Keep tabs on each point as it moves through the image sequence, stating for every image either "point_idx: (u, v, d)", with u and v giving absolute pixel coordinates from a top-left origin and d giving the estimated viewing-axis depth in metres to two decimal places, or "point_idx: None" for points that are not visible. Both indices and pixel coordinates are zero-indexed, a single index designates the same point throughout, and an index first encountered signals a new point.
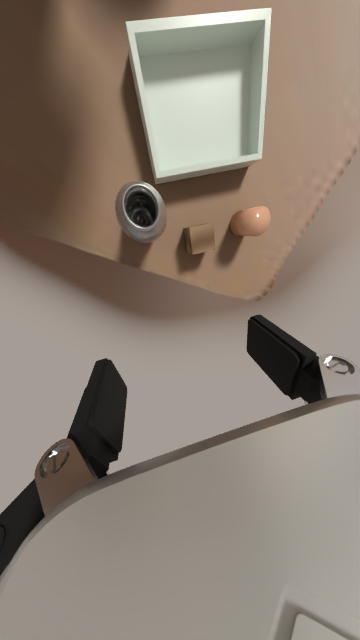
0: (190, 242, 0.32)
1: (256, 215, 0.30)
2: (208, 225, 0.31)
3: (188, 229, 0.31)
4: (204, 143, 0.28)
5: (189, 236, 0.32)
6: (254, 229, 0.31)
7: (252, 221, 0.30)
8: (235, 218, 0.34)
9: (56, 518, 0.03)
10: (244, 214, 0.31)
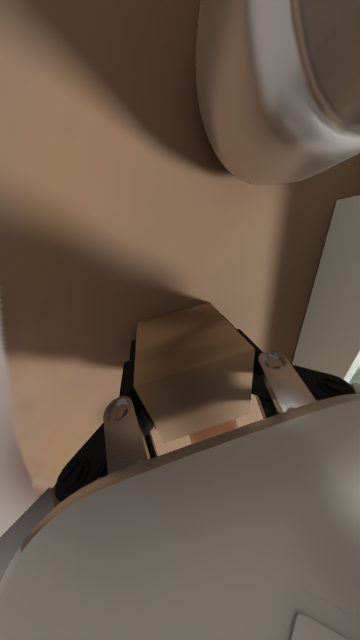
0: (188, 357, 0.07)
1: None
2: (244, 405, 0.08)
3: (238, 339, 0.07)
4: None
5: (212, 348, 0.07)
6: None
7: None
8: None
9: (56, 518, 0.03)
10: None
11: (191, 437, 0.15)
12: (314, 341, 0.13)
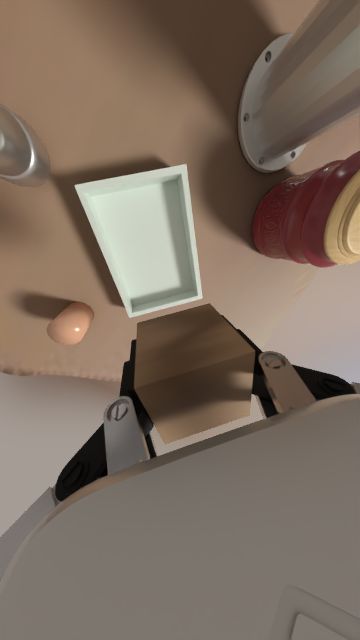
0: (188, 359, 0.07)
1: (70, 327, 0.25)
2: (244, 406, 0.08)
3: (238, 341, 0.07)
4: (134, 258, 0.28)
5: (212, 349, 0.07)
6: (54, 330, 0.25)
7: (62, 325, 0.24)
8: (77, 306, 0.28)
9: (56, 518, 0.03)
10: (75, 314, 0.26)
11: None
12: None
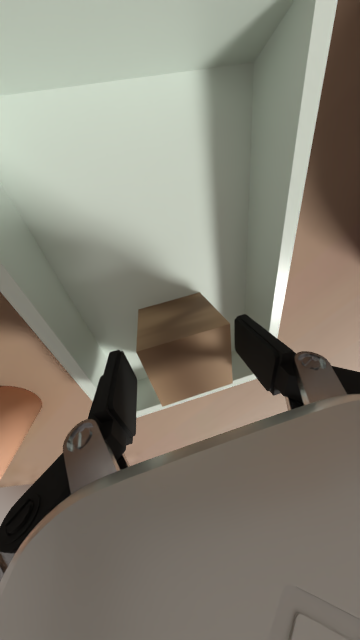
0: (178, 331, 0.08)
1: None
2: (227, 374, 0.10)
3: (218, 317, 0.09)
4: (123, 297, 0.11)
5: (197, 324, 0.09)
6: None
7: None
8: None
9: (56, 518, 0.03)
10: None
11: None
12: None
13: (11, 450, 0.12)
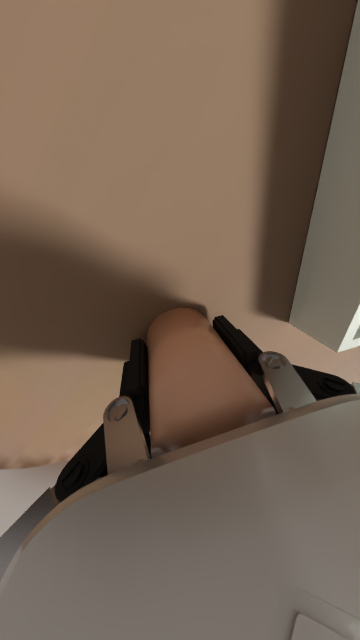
0: None
1: (244, 423, 0.06)
2: None
3: None
4: None
5: None
6: (183, 441, 0.05)
7: (221, 420, 0.05)
8: (199, 322, 0.09)
9: (56, 518, 0.03)
10: (231, 357, 0.07)
11: (147, 355, 0.10)
12: (347, 166, 0.07)
13: None
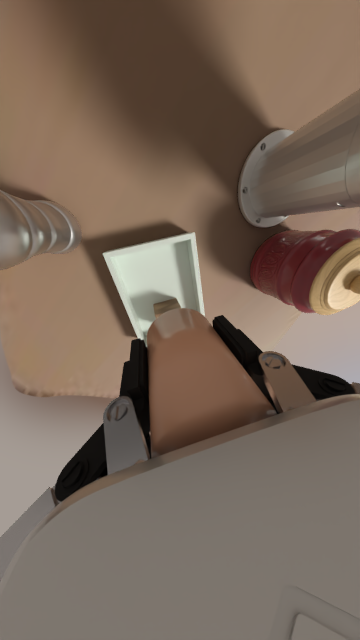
0: (166, 310, 0.29)
1: None
2: None
3: (178, 306, 0.29)
4: (148, 299, 0.32)
5: (172, 308, 0.29)
6: (184, 443, 0.05)
7: (222, 422, 0.05)
8: (200, 322, 0.09)
9: (56, 518, 0.03)
10: (232, 358, 0.07)
11: (147, 356, 0.09)
12: None
13: None
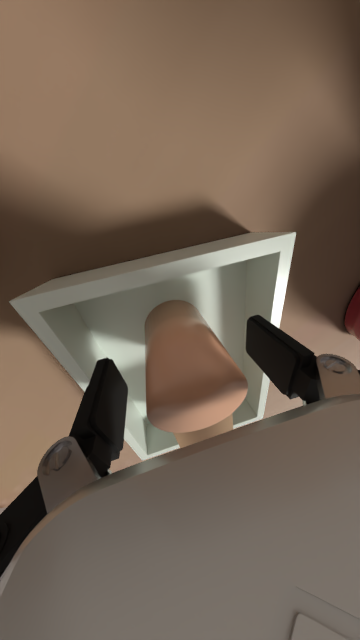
0: None
1: (221, 389, 0.07)
2: None
3: None
4: None
5: None
6: (172, 401, 0.07)
7: (202, 384, 0.07)
8: (190, 311, 0.11)
9: (56, 518, 0.03)
10: (214, 339, 0.08)
11: (145, 340, 0.11)
12: None
13: None
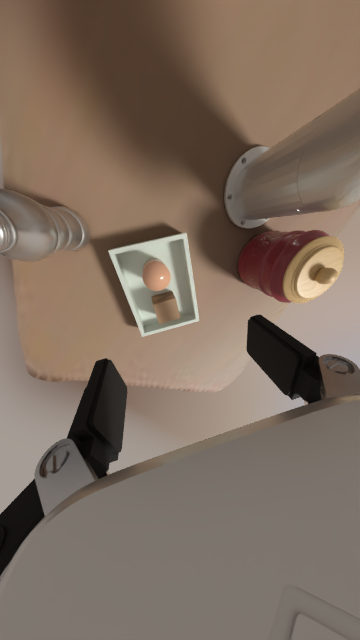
0: (163, 300, 0.33)
1: (162, 273, 0.28)
2: (178, 314, 0.35)
3: (173, 297, 0.33)
4: (147, 292, 0.36)
5: (168, 298, 0.33)
6: (149, 273, 0.27)
7: (156, 269, 0.27)
8: (159, 260, 0.31)
9: (56, 518, 0.03)
10: (163, 263, 0.29)
11: None
12: None
13: None
